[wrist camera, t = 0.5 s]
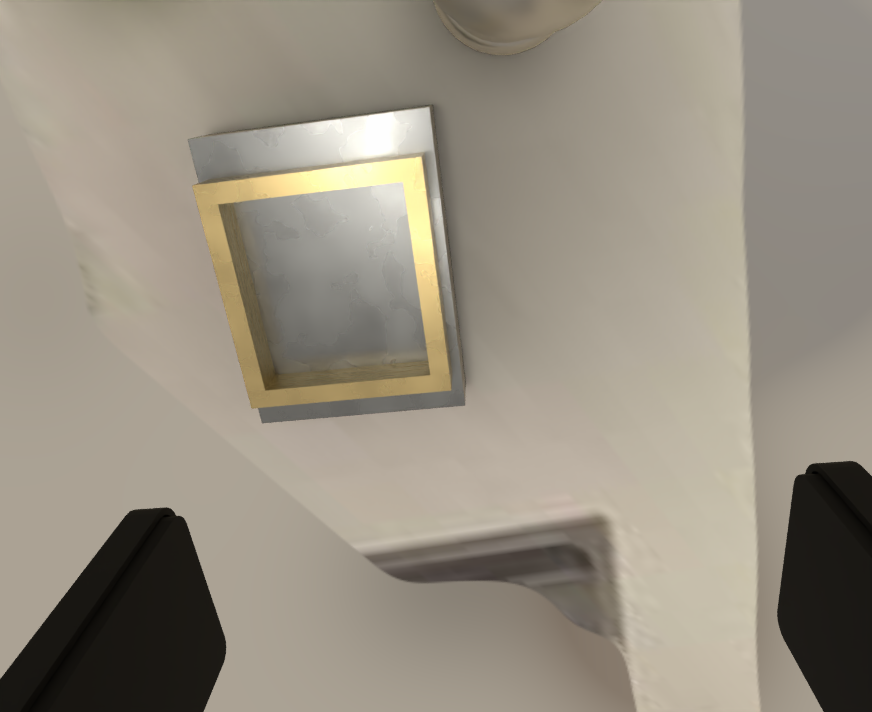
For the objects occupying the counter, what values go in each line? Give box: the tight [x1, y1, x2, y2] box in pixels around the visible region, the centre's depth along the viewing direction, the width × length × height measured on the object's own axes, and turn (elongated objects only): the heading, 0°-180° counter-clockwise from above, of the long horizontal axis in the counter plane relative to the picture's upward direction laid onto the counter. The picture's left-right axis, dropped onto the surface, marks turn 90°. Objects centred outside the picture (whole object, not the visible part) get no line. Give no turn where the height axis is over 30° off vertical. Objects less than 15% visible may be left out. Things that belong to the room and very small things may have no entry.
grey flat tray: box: [188, 105, 466, 423], centre depth 35 cm, size 16×12×5 cm
